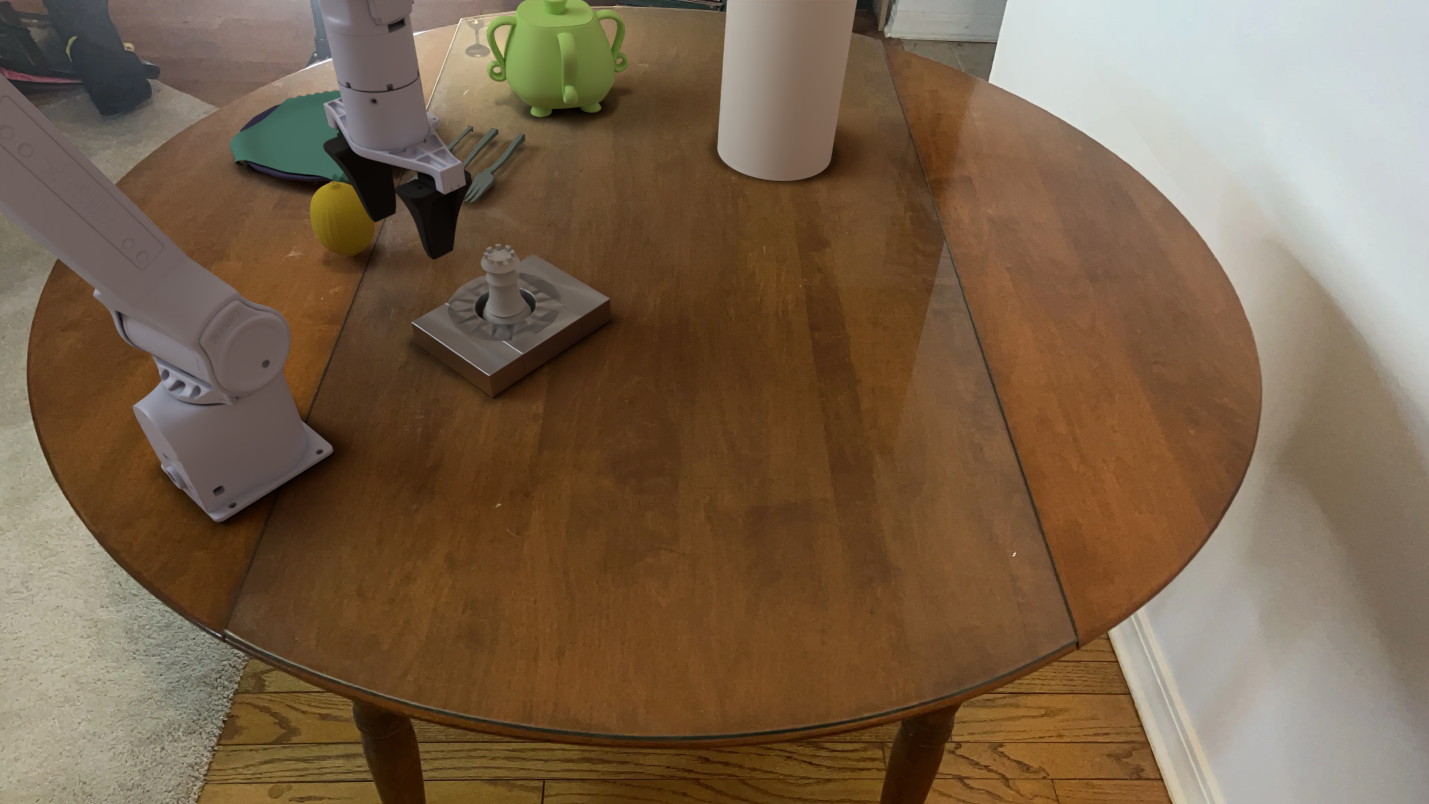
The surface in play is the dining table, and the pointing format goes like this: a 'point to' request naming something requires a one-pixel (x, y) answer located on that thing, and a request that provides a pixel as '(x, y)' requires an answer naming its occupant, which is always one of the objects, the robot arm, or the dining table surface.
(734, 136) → the canister
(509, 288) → the rook chess piece
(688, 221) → the dining table surface
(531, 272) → the stand
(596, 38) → the teapot
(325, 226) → the lemon
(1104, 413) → the dining table surface
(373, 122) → the robot arm
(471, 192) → the cutlery set
